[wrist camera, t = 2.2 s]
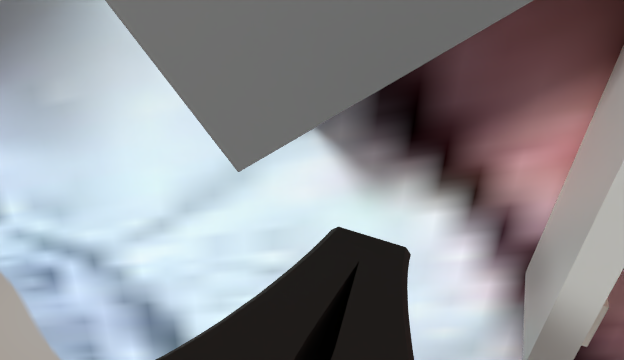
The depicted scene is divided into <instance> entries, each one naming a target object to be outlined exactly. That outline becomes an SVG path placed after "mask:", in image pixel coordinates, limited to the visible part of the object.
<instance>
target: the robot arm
mask: <svg viewBox="0 0 624 360" xmlns="http://www.w3.org/2000/svg"><path fill="white" fill-rule="evenodd" d="M410 256H411V254H410V253H409V251H408V250H407V248H406V247H403V246H400V245H396V244H393V243H390V242H387V241H383V240H380V239H377V238H374V237H370V236H367V235H364V234H360V233H357V232H354V231H351V230H347V229H344V228H341V227H337V228H335V229H333V230H331V231H330V232H329V233H328V234H327V235H326V236H325V237H324V238H323V239H322V240H321V241H320V242H319V243H318V244H317V245H316V246H315V247H314V248H313V249H312V250H311V251H310V252H309V253H308V254H306V255H305V256H304V257H303V258H302V259H301V260H300V261H298V262H297V263H296V264H295V265H294V266H293V267H292V268H290V269H289V270H288V271H287V272H286V273H284V274H283V275H282V276H281V277H279V278H278V279H277V280H276V281H274V282H273V283H272V284H271V285H269V286H268V287H267V288H266V289H265V290H263V291H262V292H261V293H259V294H258V295H257V296H255V297H254V298H252V299H251V300H250V301H248V302H247V303H245V304H244V305H243V306H241V307H240V308H238V309H237V310H236V311H234V312H233V313H231V314H230V315H229V316H227V317H226V318H224V319H223V320H221V321H220V322H218V323H217V324H215V325H214V326H212V327H211V328H209V329H208V330H206V331H204V332H203V333H201V334H200V335H198V336H196V337H195V338H193V339H191V340H190V341H188V342H186V343H185V344H183V345H181V346H180V347H178V348H176V349H174V350H173V351H171V352H169V353H167V354H166V355H164V356H162V357H160V358H158V359H156V360H414V356H413V350H412V342H411V333H410V325H409V315H408V295H407V277H408V266H409V259H410Z"/></svg>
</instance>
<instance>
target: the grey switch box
mask: <svg viewBox="0 0 624 360" xmlns="http://www.w3.org/2000/svg"><path fill="white" fill-rule="evenodd" d="M105 1H106V2H107V3H108V5H109V6H110V7H111V8H112V10H113V11H114V12H115V14H116V15H117V16H118V17H119V19H120V20H121V21H122V23H123V24H124V25H125V27H126V28H127V29H128V30H129V32H130V33H131V34H132V36H133V37H134V38H135V39H136V41H137V42H138V43H139V45H140V46H141V47H142V49H143V50H144V51H145V52H146V54H147V55H148V56H149V58H150V59H151V60H152V61H153V63H154V64H155V65H156V67H157V68H158V69H159V70H160V72H161V73H162V74H163V76H164V77H165V78H166V80H167V81H168V82H169V83H170V85H171V86H172V87H173V89H174V90H175V91H176V92H177V94H178V95H179V96H180V98H181V99H182V100H183V101H184V103H185V104H186V105H187V107H188V108H189V109H190V111H191V112H192V113H193V114H194V116H195V117H196V118H197V120H198V121H199V122H200V123H201V125H202V126H203V127H204V129H205V130H206V131H207V132H208V134H209V135H210V136H211V138H212V139H213V140H214V142H215V143H216V144H217V145H218V147H219V148H220V149H221V151H222V152H223V153H224V154H225V156H226V157H227V158H228V160H229V161H230V162H231V163H232V165H233V166H234V167H235V169H236V170H237V171H238V172H240V171H241V170H243V169H245V168H247V167H248V166H250V165H252V164H253V163H255V162H257V161H259V160H260V159H262V158H264V157H265V156H267V155H269V154H271V153H272V152H274V151H276V150H277V149H279V148H281V147H283V146H284V145H286V144H288V143H289V142H291V141H293V140H295V139H296V138H298V137H300V136H301V135H303V134H305V133H307V132H308V131H310V130H312V129H314V128H315V127H317V126H319V125H320V124H322V123H324V122H326V121H327V120H329V119H331V118H332V117H334V116H336V115H338V114H339V113H341V112H343V111H344V110H346V109H348V108H350V107H351V106H353V105H355V104H356V103H358V102H360V101H362V100H363V99H365V98H367V97H368V96H370V95H372V94H374V93H375V92H377V91H379V90H381V89H382V88H384V87H386V86H387V85H389V84H391V83H393V82H394V81H396V80H398V79H399V78H401V77H403V76H405V75H406V74H408V73H410V72H411V71H413V70H415V69H417V68H418V67H420V66H422V65H423V64H425V63H427V62H429V61H430V60H432V59H434V58H435V57H437V56H439V55H441V54H442V53H444V52H446V51H447V50H449V49H451V48H453V47H454V46H456V45H458V44H460V43H461V42H463V41H465V40H466V39H468V38H470V37H472V36H473V35H475V34H477V33H478V32H480V31H482V30H484V29H485V28H487V27H489V26H490V25H492V24H494V23H496V22H497V21H499V20H501V19H502V18H504V17H506V16H508V15H509V14H511V13H513V12H514V11H516V10H518V9H520V8H521V7H523V6H525V5H526V4H528V3H530V2H532V1H533V0H105Z"/></svg>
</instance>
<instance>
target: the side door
mask: <svg viewBox="0 0 624 360" xmlns="http://www.w3.org/2000/svg"><path fill="white" fill-rule="evenodd" d="M623 268H624V45H623V47H622V50H621V52H620V54H619V57H618V59H617V61H616V64H615V66H614V68H613V71H612V73H611V75H610V78H609V80H608V82H607V85H606V87H605V89H604V92H603V94H602V96H601V99H600V101H599V103H598V106H597V108H596V110H595V112H594V115H593V117H592V119H591V122H590V124H589V126H588V129H587V131H586V133H585V136H584V138H583V140H582V143H581V145H580V147H579V150H578V152H577V154H576V157H575V159H574V161H573V164H572V166H571V168H570V171H569V173H568V175H567V178H566V180H565V182H564V185H563V187H562V189H561V192H560V194H559V196H558V199H557V201H556V203H555V205H554V208H553V210H552V212H551V215H550V217H549V219H548V222H547V224H546V226H545V229H544V231H543V233H542V236H541V238H540V240H539V243H538V245H537V247H536V250H535V252H534V254H533V257H532V259H531V261H530V264H529V266H528V268H527V271H526V275H525V301H524V327H523V354H522V360H574V358H575V356H576V354H577V352H578V350H579V349H580V347H581V345H582V346H585V347H587V346H588V345H589V343H590V341H591V339H592V337H593V336H594V334H595V332H596V330H597V328H598V327H599V325H600V323H601V321H602V319H603V318H604V316H605V314H606V312H607V310H608V309H609V304H608V296H609V294H610V292H611V290H612V288H613V287H614V285H615V283H616V281H617V279H618V277H619V276H620V274H621V272H622V270H623Z"/></svg>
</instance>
